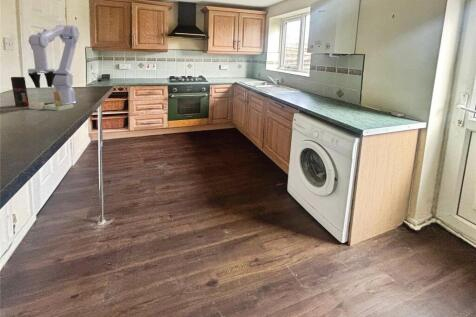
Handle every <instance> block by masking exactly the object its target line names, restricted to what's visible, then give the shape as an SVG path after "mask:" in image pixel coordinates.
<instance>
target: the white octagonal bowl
mask: <svg viewBox="0 0 476 317" xmlns="http://www.w3.org/2000/svg"><path fill="white" fill-rule="evenodd" d="M28 102H29V106H28V108H29V110H40V109H43V106H44V105H45V103H44V101H31V102H30V101H28Z"/></svg>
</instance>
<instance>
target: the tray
mask: <svg viewBox="0 0 476 317" xmlns="http://www.w3.org/2000/svg"><path fill="white" fill-rule="evenodd" d="M71 108H75V103H68V104H67V103H62V106H60V107H56V106H55V103H49V104H44V106H43V108H42V109H43V110H51V111H63V110H68V109H71Z"/></svg>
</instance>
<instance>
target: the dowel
mask: <svg viewBox="0 0 476 317" xmlns="http://www.w3.org/2000/svg"><path fill="white" fill-rule="evenodd" d="M53 98H54V102H55V103H54V104H55V106H56V107H60V106H62V101H61V93H60V92H56V91H53Z"/></svg>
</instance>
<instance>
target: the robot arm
mask: <svg viewBox="0 0 476 317" xmlns="http://www.w3.org/2000/svg"><path fill="white" fill-rule="evenodd" d="M58 36H59V38H60V40H61V41H62V43H64V47H63V51H62V54H61V59H60V62H59V67H58V69H56V70H55V68H49V65H48V56H47V48H46V47H48V44H50V43H51V42H53V41H55V39H56V37H58ZM79 36H80V32H79V29H78V27H77V26H76V25H74V24H73V25H71V24H70V25H69V24H68V25H67V24H58V25H56V26H55V27H54V28H52V29H47V28H44V29H43V31H41V32H40V31H39V32H37V33H36V34H31V35H30V36H29V37H28V43H29V45H30V50H32V53H33V54H32V55H33V56H32V57H33V62H34V68H28V69H27V74H28V76H29V78H30V79H31V81H32V82H33V84H34V87H35V88H36V89H41V82H40V81H41V74H44V77H45V80H46V85H47V88H52V87H53V88H55V92H60V93H61V101H62V103H67V104H77V101H76V93H75V90H74V87H72V86H73V82H74V81H73V80H74V79H73V77H74V76H73V74H72V73H71V72H70V71H71V67H72V62H73V59H74V56H75V51H76V47H77V43H78V40H79ZM40 73H41V74H40ZM53 104H55V101H54V102H53Z"/></svg>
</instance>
